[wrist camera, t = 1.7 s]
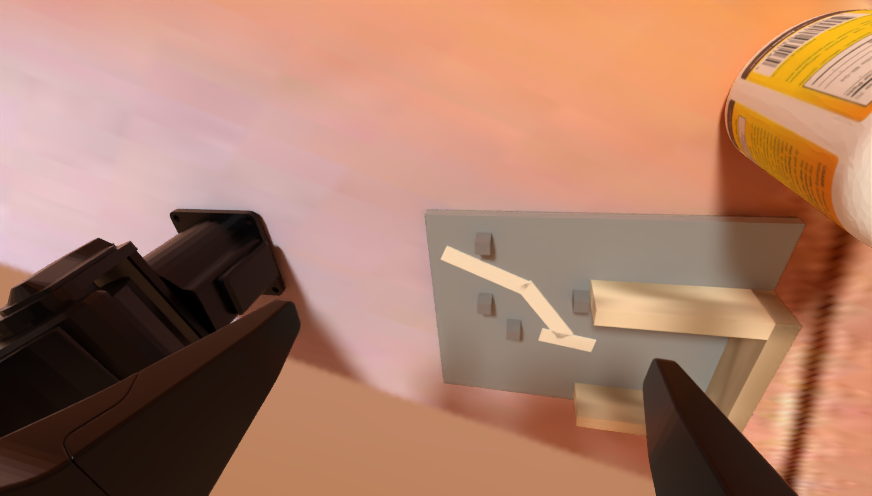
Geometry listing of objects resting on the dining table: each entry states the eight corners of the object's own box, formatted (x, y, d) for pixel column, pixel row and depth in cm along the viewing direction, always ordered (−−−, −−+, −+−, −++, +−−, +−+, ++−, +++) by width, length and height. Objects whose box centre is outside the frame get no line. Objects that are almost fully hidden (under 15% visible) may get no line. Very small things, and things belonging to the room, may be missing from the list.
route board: (445, 376, 29) (441, 394, 28) (427, 209, 22) (420, 223, 20) (709, 409, 25) (718, 431, 24) (798, 217, 17) (819, 235, 16)
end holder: (573, 392, 26) (576, 426, 24) (590, 279, 21) (596, 310, 19) (716, 410, 24) (733, 448, 22) (773, 290, 19) (802, 325, 17)
